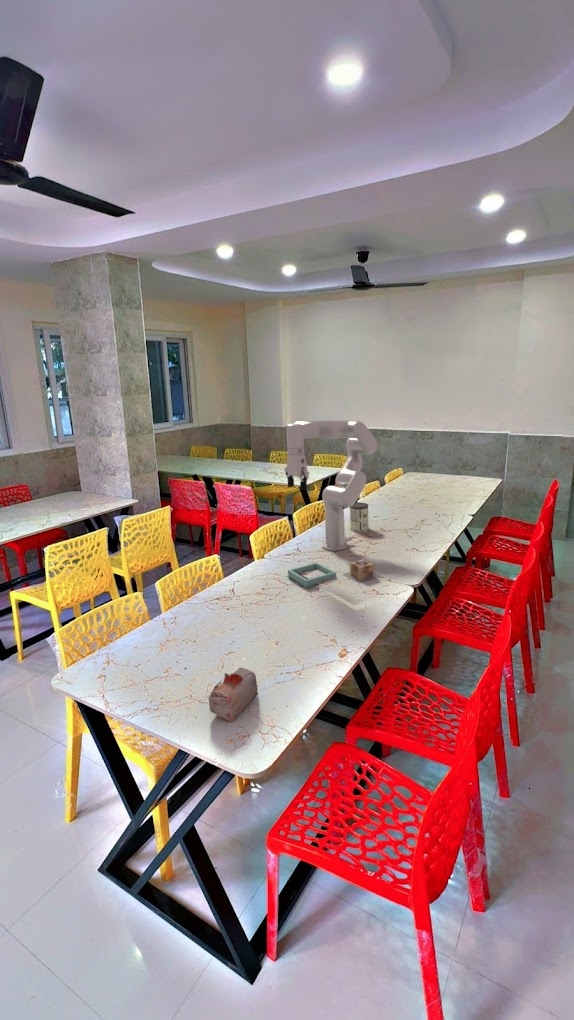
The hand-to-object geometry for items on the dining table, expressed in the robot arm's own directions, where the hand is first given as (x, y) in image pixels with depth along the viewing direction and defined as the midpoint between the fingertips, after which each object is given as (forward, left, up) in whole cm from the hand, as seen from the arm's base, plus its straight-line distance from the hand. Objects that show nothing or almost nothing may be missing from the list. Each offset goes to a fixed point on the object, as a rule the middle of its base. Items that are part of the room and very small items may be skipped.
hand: (297, 488), depth 234 cm
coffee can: (-51, -20, -35) cm, 65 cm away
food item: (+74, +84, -35) cm, 117 cm away
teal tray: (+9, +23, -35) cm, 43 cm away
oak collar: (-8, +36, -34) cm, 50 cm away
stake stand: (-8, +36, -35) cm, 51 cm away
